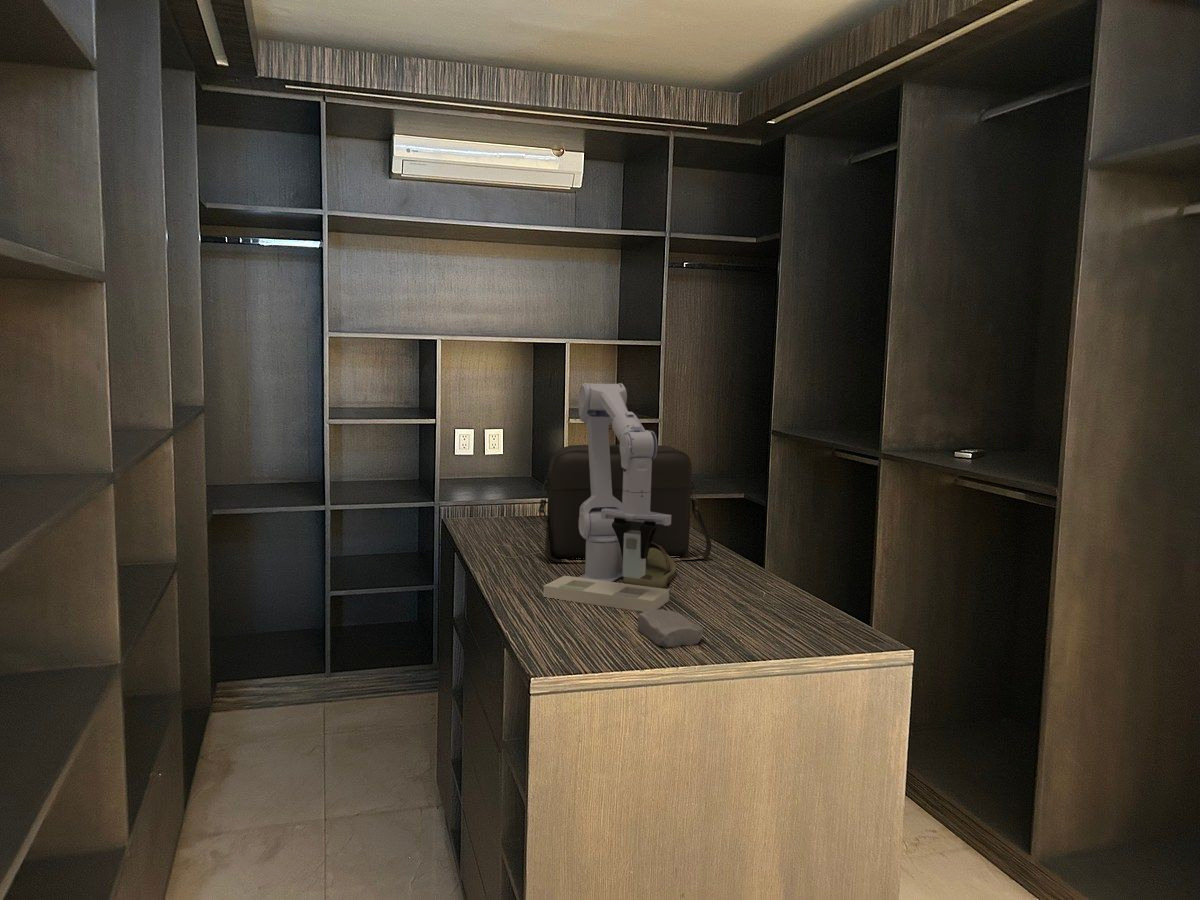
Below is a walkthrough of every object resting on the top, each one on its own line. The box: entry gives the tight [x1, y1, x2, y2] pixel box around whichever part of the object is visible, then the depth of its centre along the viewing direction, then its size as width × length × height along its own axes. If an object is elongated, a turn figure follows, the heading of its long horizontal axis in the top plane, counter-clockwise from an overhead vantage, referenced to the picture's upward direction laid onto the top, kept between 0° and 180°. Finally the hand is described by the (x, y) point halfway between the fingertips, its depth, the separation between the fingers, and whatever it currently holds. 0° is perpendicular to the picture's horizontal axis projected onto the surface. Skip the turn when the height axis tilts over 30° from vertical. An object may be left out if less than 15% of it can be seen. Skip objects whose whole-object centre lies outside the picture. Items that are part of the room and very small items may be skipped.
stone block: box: [637, 609, 704, 649], centre depth 169 cm, size 12×5×10 cm
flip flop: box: [622, 542, 677, 589], centre depth 211 cm, size 29×12×8 cm, turn 170°
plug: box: [622, 530, 646, 579], centre depth 190 cm, size 4×4×9 cm
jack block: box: [543, 575, 670, 613], centre depth 193 cm, size 10×24×3 cm, turn 67°
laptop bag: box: [537, 424, 712, 563], centre depth 232 cm, size 43×13×33 cm, turn 102°
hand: (634, 556), depth 190 cm, fingers closed on plug, 4 cm apart
